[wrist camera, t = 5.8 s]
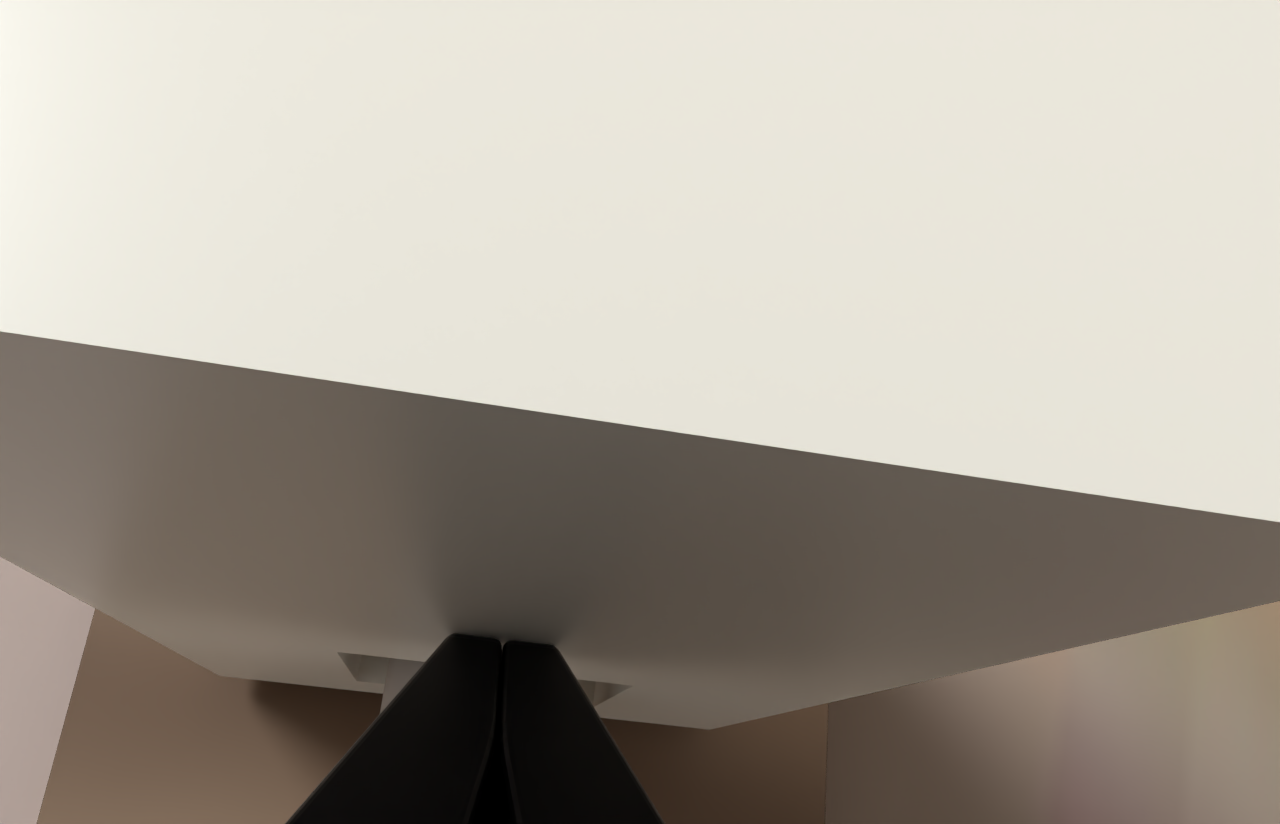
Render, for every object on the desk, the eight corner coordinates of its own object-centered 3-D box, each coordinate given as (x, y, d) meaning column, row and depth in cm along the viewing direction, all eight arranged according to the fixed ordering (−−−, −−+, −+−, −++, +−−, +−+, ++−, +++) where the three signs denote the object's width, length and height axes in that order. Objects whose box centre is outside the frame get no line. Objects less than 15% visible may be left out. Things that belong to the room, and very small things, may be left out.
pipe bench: (775, 1583, 12) (992, 2085, 8) (-140, 1587, 11) (-587, 2207, 6) (819, 297, 18) (957, 121, 14) (228, 196, 17) (147, -40, 12)
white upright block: (709, 729, 14) (1488, 553, 4) (220, 676, 13) (-570, 245, 3) (728, 450, 16) (1330, -250, 5) (286, 384, 15) (-80, -624, 4)
